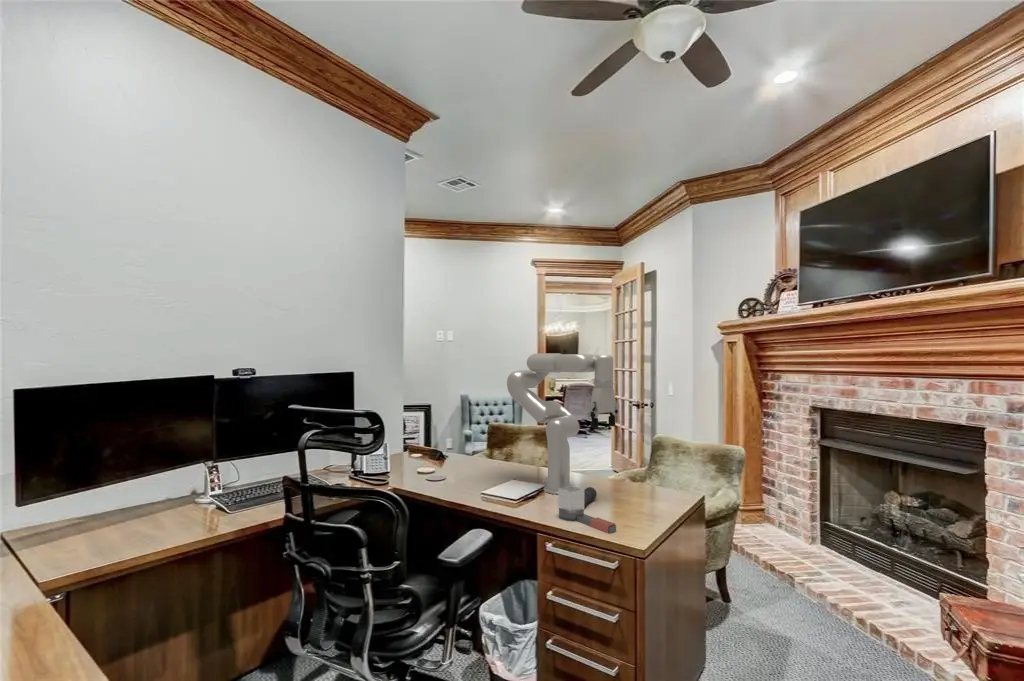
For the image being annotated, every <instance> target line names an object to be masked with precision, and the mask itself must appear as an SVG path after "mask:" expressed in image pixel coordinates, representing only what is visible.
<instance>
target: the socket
mask: <svg viewBox="0 0 1024 681" xmlns="http://www.w3.org/2000/svg"><path fill="white" fill-rule="evenodd" d="M584 490H585V489H583V488H580V487H577V486H573V485H570V486H568V487H563V488H559V489H558V494H557V495H558V501H557V502H558V503H557V504H558V506H557V507H558V509H559V508H560V509H563V510H565V511H568V512H571V513H572V512H575V511H579V510H583V509H584V510H585V506H584Z"/></svg>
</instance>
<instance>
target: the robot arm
mask: <svg viewBox="0 0 1024 681" xmlns="http://www.w3.org/2000/svg"><path fill="white" fill-rule="evenodd" d="M526 366H527V368H528V370H527V369H525V370H524V369H522V370H520V369H519V370H516V371H512V372H511V373H510V374H508V377H507V378H506V379H507V380H506V387H507V391H508V394H509V395H510V397H511V398H512V399H513V400H514V401H515V402H517V404H518V405H520V406H521V407H522V408H523V409H524V410H525V412H526V413H528V414H529V415H530V416H531V417H532V418H533V419H534V420H535V421H537V422H538V423H539V424H544V423H545V424H546V426H545V435H546V441H547V442H546V443H547V477H545V479H543V480H542V482H543V483H545V486H544V487H543V490H544V492H545V493H547V494H551V495H558V489H559V488H563V487H568V486H571V485H570V484H571V482H570V479H571V477H570V476H571V475H570V474H571V473H570V471H571V469H570V467H571V466H570V463H571V461H570V460H571V459H570V456H571V451H570V445H569V440H568V439H569V438H572V437H574V436H576V435H578V433H579V431H580V423H579V421H578V419H577V418H576V417H575V415H573V414H572V413H571V412H569V411H568V410H567V408H565V406H563V405H562V404H560V403H559V402H558V401H554V400H543V399H542V398H541V397H539V396H538V395H537V394H536V393H535V392H534V391H532V390H531V389H532V388H536V387H538V386H539V384H541V382H543V380H544V379H545V378H546V377H547V376H548V375H549V374H550V373H555V374H556V373H557V374H558V373H559V374H560V373H593V372H594V388H592V391H591V392H592V393H591V398H590V405H588V406H587V408H586V409H587V413H588V415H589V416H590V419H591V428H592V429H598V428H599V418H598V417H599V415H600V414H608V426H609V427H616V417H617V414H618V412H619V409H620V405H619V404H618V403H616V396H615V390H614V385H615V384H614V357H613V356H612V355H610V354H609V355H608V354H598V355H596V354H591V353H590V354H589V353H587V354H586V353H585V354H584V353H577V354H575V353H574V354H573V353H572V354H571V353H570V354H569V353H566V354H564V353H563V354H562V353H559V352H558V353H557V352H556V353H555V352H554V353H553V352H552V353H551V352H549V353H548V352H547V353H542V352H541V353H540V352H539V353H533V354H531V355H529V356H528V358H527V360H526Z"/></svg>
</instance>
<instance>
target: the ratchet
mask: <svg viewBox="0 0 1024 681" xmlns="http://www.w3.org/2000/svg"><path fill="white" fill-rule="evenodd" d="M558 518H559V519H561V520H563V521H568V522H577V523H580V524H584V525H586V526H589V527H591V528H593V529H596V530H599V531H601V532H603V533H606V534H613V533H616V532H617V525H616V523H614V522H612V521H609V520H607V519H603V518H601V517H594V516H591V515H587V514H586V513H585V508H584V509H583V510H579V511H575V512H572V513H571V512H568V511H565V510H563V509H560V508H558Z"/></svg>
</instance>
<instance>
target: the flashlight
mask: <svg viewBox="0 0 1024 681" xmlns="http://www.w3.org/2000/svg"><path fill="white" fill-rule="evenodd" d="M597 496H598V495H597V490H596V489H595V488H594V487H590V486H589V487H586V488H585V489H584V507H585V506H586V505H587V504H588V503H589V502H593V501H594V500H595V499H596V498H597Z"/></svg>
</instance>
